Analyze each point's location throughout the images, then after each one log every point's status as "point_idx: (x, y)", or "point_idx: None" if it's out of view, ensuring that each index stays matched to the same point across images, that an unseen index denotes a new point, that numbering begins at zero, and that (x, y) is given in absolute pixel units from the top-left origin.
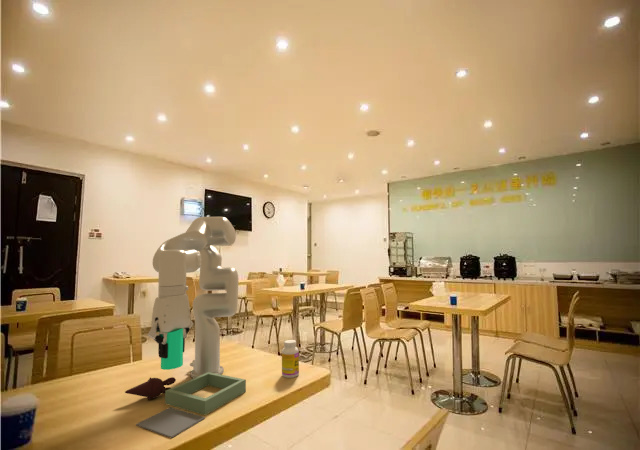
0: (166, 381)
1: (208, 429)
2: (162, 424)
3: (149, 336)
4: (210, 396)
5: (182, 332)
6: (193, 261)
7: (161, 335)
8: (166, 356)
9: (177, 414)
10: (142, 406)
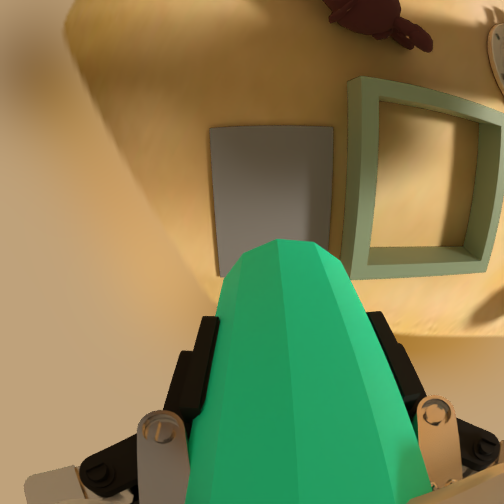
0: (404, 30)
1: None
2: (246, 203)
3: (45, 474)
4: (381, 269)
5: None
6: None
7: (180, 491)
8: None
9: (307, 192)
10: (297, 29)
